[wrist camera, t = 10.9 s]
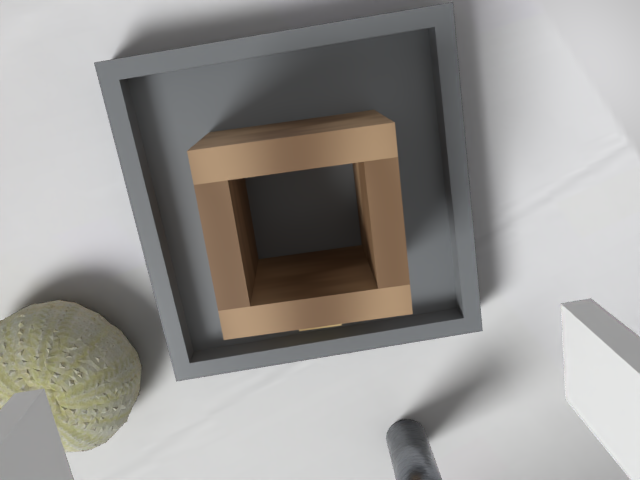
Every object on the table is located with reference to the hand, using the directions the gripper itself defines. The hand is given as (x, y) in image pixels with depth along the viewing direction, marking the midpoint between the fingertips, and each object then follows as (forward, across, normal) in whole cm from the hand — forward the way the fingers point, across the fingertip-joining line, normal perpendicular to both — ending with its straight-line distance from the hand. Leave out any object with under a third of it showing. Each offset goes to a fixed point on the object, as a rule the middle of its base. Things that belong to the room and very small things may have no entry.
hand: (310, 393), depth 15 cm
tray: (+21, 0, -1) cm, 21 cm away
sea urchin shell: (+21, +16, +7) cm, 27 cm away
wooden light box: (+20, 0, +1) cm, 20 cm away
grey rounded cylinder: (+21, -4, +16) cm, 27 cm away
